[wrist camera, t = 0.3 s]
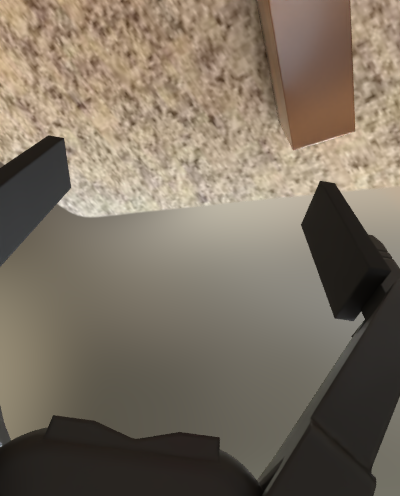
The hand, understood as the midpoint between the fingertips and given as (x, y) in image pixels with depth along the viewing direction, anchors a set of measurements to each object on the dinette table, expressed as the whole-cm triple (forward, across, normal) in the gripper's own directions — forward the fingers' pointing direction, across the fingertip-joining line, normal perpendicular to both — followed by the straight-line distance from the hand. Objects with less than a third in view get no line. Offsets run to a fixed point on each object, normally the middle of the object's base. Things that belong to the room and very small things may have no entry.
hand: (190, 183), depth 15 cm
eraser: (+17, +7, +6) cm, 20 cm away
